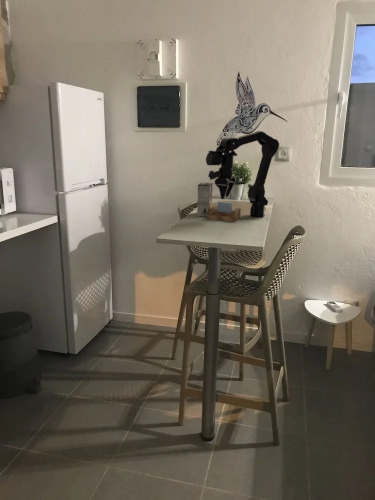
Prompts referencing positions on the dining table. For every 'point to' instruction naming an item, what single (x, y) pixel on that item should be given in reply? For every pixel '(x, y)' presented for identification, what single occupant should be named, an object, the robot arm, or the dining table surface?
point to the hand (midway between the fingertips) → (224, 197)
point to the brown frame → (223, 214)
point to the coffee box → (204, 198)
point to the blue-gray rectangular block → (224, 207)
